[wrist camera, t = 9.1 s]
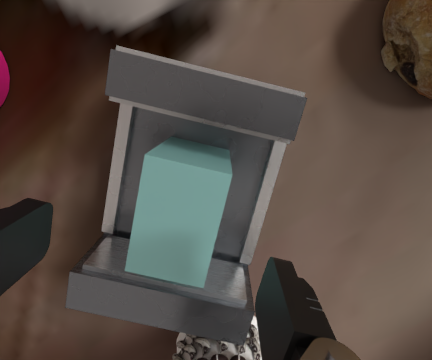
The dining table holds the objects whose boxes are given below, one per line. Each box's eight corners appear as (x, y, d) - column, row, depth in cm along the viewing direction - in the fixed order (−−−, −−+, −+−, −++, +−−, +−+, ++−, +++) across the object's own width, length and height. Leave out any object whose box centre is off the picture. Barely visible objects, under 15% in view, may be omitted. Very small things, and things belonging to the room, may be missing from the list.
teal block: (171, 136, 20) (144, 154, 13) (229, 150, 20) (232, 175, 13) (155, 217, 21) (124, 270, 15) (209, 229, 21) (203, 288, 15)
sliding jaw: (144, 60, 18) (111, 42, 13) (283, 95, 19) (309, 92, 13) (138, 100, 19) (104, 100, 14) (272, 133, 19) (292, 146, 14)
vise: (136, 60, 20) (97, 41, 14) (292, 99, 20) (323, 98, 14) (106, 253, 24) (65, 307, 18) (238, 282, 24) (243, 345, 18)
